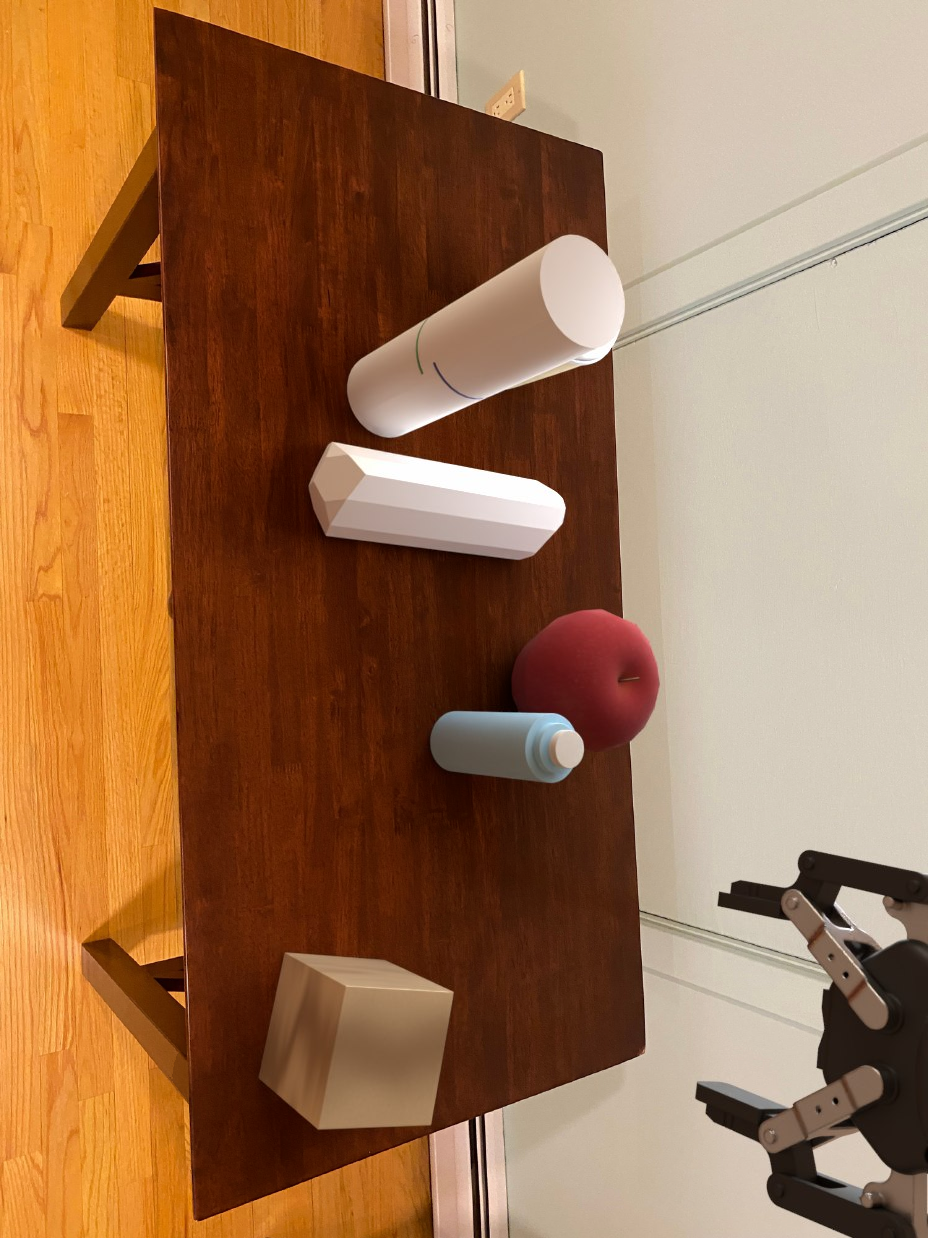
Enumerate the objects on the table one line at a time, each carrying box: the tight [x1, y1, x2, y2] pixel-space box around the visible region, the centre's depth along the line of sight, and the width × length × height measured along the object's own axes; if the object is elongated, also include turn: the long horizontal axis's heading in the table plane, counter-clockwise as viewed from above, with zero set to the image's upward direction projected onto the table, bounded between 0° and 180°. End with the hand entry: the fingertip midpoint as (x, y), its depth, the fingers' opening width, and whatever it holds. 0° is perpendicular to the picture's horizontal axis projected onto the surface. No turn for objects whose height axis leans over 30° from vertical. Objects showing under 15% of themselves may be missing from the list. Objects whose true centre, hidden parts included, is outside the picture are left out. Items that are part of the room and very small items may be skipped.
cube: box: [258, 952, 454, 1131], centre depth 68 cm, size 9×9×10 cm
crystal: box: [308, 441, 566, 561], centre depth 79 cm, size 7×7×24 cm
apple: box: [511, 608, 661, 753], centre depth 81 cm, size 12×12×13 cm
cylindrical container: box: [346, 234, 626, 439], centre depth 69 cm, size 7×7×25 cm
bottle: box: [429, 710, 585, 784], centre depth 75 cm, size 5×5×15 cm
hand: (718, 993), depth 44 cm, fingers open, 8 cm apart
